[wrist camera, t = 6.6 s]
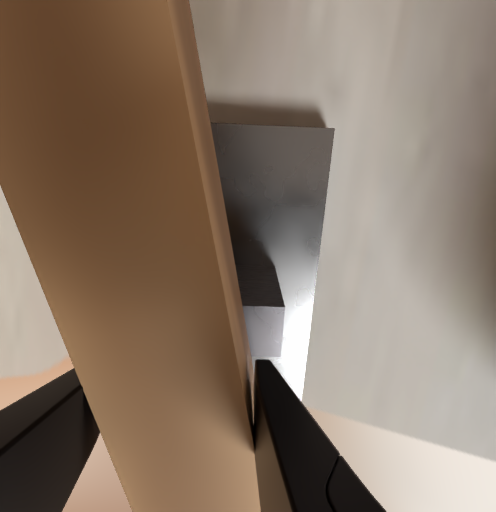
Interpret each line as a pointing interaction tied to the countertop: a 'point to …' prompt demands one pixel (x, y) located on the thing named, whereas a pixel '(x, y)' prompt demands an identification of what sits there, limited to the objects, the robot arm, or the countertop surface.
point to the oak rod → (132, 240)
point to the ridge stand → (275, 232)
